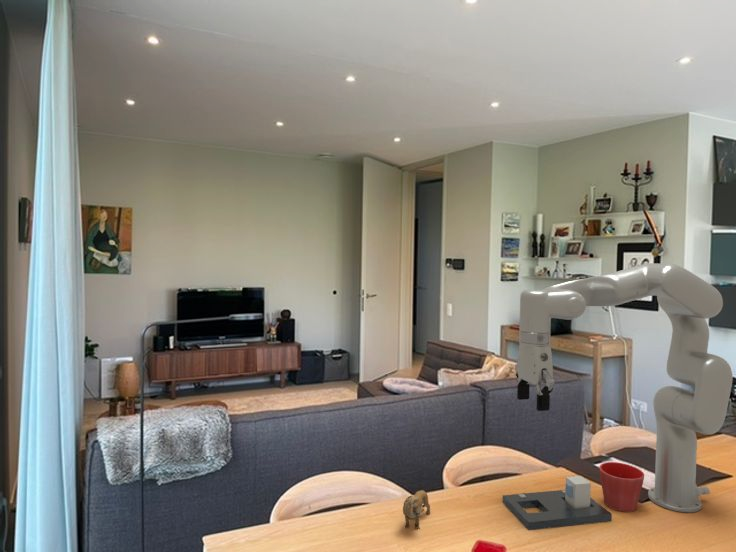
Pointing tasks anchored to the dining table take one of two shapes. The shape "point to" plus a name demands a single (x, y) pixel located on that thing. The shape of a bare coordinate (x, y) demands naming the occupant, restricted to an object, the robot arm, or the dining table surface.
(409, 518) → the brown animal figurine
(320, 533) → the dining table surface
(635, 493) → the flower pot
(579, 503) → the plug
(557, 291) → the robot arm
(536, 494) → the panel
